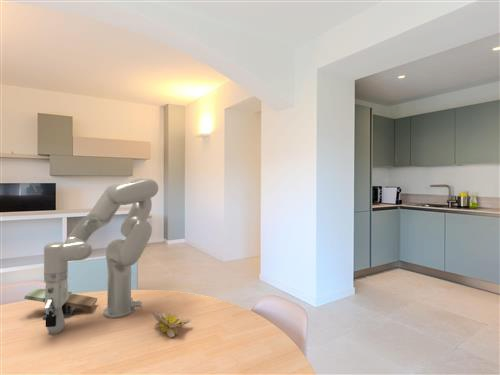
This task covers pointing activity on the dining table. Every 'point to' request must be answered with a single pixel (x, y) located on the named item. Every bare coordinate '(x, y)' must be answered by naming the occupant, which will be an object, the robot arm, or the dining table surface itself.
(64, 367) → the dining table surface
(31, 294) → the balance beam
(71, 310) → the beam stand
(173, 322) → the decorative flower
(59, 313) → the salt shaker
